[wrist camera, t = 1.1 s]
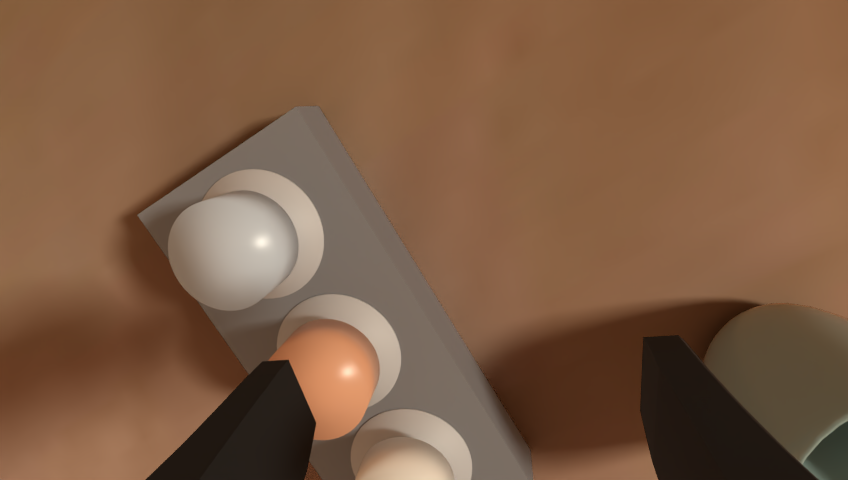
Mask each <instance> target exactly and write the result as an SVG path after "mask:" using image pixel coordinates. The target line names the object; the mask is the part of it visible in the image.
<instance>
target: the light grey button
mask: <svg viewBox="0 0 848 480" xmlns="http://www.w3.org/2000/svg"><path fill="white" fill-rule="evenodd" d="M298 251H299V243H298V236H297V233H296V229H295V227H294V224H293V222H292V220H291V219H290V217H289V216H288V214H287V213H286V211H285V210H284V209H283V208H282V207H281V206H280V205H279V204H278V203H276V202H275V201H274V200H272V199H271V198H269V197H267V196H265V195H263V194H260V193H258V192H254V191H248V190H238V191H232V192H228V193H225V194H222V195H219V196H216V197H213V198H210V199H207V200H204V201H201V202H198V203H196V204H193V205H192V206H190V207H188V208H187V209H185V210H184V211H183V212H182V213H181V214H180V215H179V216H178V217H177V219H176V220H175V222H174V224H173V226H172V228H171V231H170V234H169V239H168V256H169V260H170V264H171V267H172V270H173V272H174V274H175V276H176V278H177V280H178V281H179V283H180V284H181V285H182V287H183V288H184V289H185V290H186V291H187V292H188V293H189V294H190V295H191V296H192V297H194V298H195V299H196V300H198V301H199V302H201V303H203V304H205V305H207V306H209V307H212V308H215V309H219V310H226V311H236V310H242V309H245V308H248V307H250V306H252V305H254V304H256V303H257V302H259V301H260V300H261V299H263V298H264V297H265V296H266V295H267V294H269V293H270V292H271V291H272V290H274V289H275V288H276V287H277V286H278V285H280V284H281V283H282V282H283V281H284V280H285V279H286V278H287V277H288V276H289V275H290V274H291V272H292V270H293V269H294V267H295V264H296V261H297V258H298Z"/></svg>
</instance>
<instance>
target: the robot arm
mask: <svg viewBox="0 0 848 480" xmlns="http://www.w3.org/2000/svg"><path fill="white" fill-rule="evenodd" d="M640 412H641V416H642V420H643V425H644V429H645V433H646V438H647V442H648V446H649V450H650V454H651V458H652V462H653V465H654V468H655V471H656V474H657V477H658V480H819V479H817V478H816V477H815V476H814V475H813V474H812V473H811V472H810V471H809V470H808V469H807V468H806V467H804V466H803V465H802V464H801V463H800V462H799V461H798V460H797V459H796V458H795V457H794V456H793V455H792V454H790V453H789V452H788V451H787V450H786V449H785V448H784V447H783V446H782V445H781V444H780V443H779V442H778V441H777V440H776V439H775V438H774V437H773V436H772V435H771V434H770V433H769V432H768V431H767V430H766V429H765V428H764V427H763V426H762V425H761V424H760V423H759V422H758V421H757V420H756V419H755V418H754V417H753V416H752V415H751V414H750V413H749V412H748V411H747V410H746V409H745V408H744V407H743V406H742V405H741V404H740V402H739V401H738V400H737V399H736V398H735V397H734V396H733V395H732V394H731V393H730V392H729V391H728V390H727V389H726V387H725V386H724V385H723V384H722V383H721V382H720V381H719V380H718V379H717V378H716V377H715V375H714V374H713V373H712V372H711V371H710V370H709V369H708V368H707V366H706V365H705V364H704V363H703V362H702V361H701V360H700V358H699V357H698V356H697V355H696V354H695V352H694V351H693V350H692V349H691V348H690V347H689V345H688V344H687V343H686V342H685V341H684V340H683V339H682V338H681V337H680V336H678V335H674V336H658V337H643V357H642V381H641V404H640ZM315 428H316V421H315V419H314V416H313V414H312V412H311V410H310V407H309V405H308V403H307V400H306V398H305V396H304V394H303V391H302V389H301V387H300V385H299V382H298V380H297V378H296V375H295V373H294V371H293V369H292V366H291V364H290V362H289V360H275V361H262V362H261V363H260V364H259V365H258V366H257V367H256V368H255V369H254V370H253V371H252V372H251V373H250V374H249V375H248V376H247V377H246V378H245V379H244V380H243V381H242V383H241V384H240V385H239V386H238V387H237V388H236V389H235V390H234V391H233V392H232V393H231V394H230V395H229V396H228V397H227V398H226V399H225V400H224V402H223V403H222V404H221V405H220V406H219V407H218V408H217V409H216V410H215V411H214V412H213V413H212V414H211V415H210V416H209V417H208V418H207V419H206V420H205V421H204V422H203V423H202V425H201V426H200V427H199V428H198V429H197V430H196V431H195V432H194V433H193V434H192V435H191V436H190V437H189V438H188V439H187V440H186V441H185V442H184V443H183V444H182V445H181V446H180V447H179V448H178V449H177V450H176V451H175V452H174V453H173V454H172V455H171V456H170V457H169V458H168V459H167V460H166V461H165V462H163V463H162V464H161V465H160V466H159V467H158V468H157V469H156V470H155V471H154V472H153V473H152V474H151V475H150V476H149V477H148V478H147V479H146V480H304V478H305V475H306V472H307V468H308V463H309V459H310V454H311V449H312V444H313V439H314V433H315Z"/></svg>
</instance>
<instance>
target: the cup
mask: <svg viewBox="0 0 848 480" xmlns="http://www.w3.org/2000/svg"><path fill="white" fill-rule="evenodd" d="M703 363H704V364H705V365H706V366H707V368H708V369H709V370H710V371H711V372H712V373H713V374H714V375H715V377H716V378H717V379H718V380H719V381H720V382H721V383H722V384H723V385H724V386H725V387H726V389H727V390H728V391H729V392H730V393H731V394H732V395H733V396H734V397H735V398H736V399H737V400H738V401H739V402H740V404H741V405H742V406H743V407H744V408H745V409H746V410H747V411H748V412H749V413H750V414H751V415H752V416H753V417H754V418H755V419H756V420H757V421H758V422H759V423H760V424H761V425H762V426H763V427H764V428H765V429H766V430H767V431H768V432H769V433H770V434H771V435H772V436H773V437H774V438H775V439H776V440H777V441H778V442H779V443H780V444H781V445H782V446H783V447H784V448H785V449H786V450H787V451H788V452H789V453H790V454H792V455H793V456H794V457H795V458H796V459H797V460H798V461H799V462H800V463H801V464H802V465H803V466H804V467H806V468H807V469H808V470H809V471H810V472H811V473H812V474H813V475H814V476H815V477H816V478H817V479H819V480H848V318H845V317H843V316H840V315H838V314H834V313H831V312H828V311H825V310H822V309H818V308H815V307H811V306H805V305H798V304H790V303H771V304H766V305H761V306H756V307H753V308H751V309H748V310H746V311H744V312H741V313H739V314H738V315H737V316H735V317H734V318H732V319H731V320H729V321H728V322H727V323H726V324H725V325H724V326H723V327H722V328H721V329H720V330H719V331H718V333H717V334H716V335H715V337H714V338H713V339H712V341H711V343H710V345H709V347H708V349H707V351H706V353H705V356H704V360H703Z"/></svg>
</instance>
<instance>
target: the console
mask: <svg viewBox="0 0 848 480" xmlns="http://www.w3.org/2000/svg"><path fill="white" fill-rule="evenodd" d="M238 190H248V191H254V192H258V193H260V194H263V195H265V196H267V197H269V198H271V199H272V200H274V201H275V202H276V203H278V204H279V205H280V206H281V207H282V208H283V209H284V210H285V211H286V213H287V214H288V216H289V217H290V219H291V220H292V222H293V224H294V227H295V229H296V233H297V236H298V243H299V251H298V258H297V261H296V264H295V267H294V269H293V270H292V272H291V274H290V275H289V276H288V277H287V278H286V279H285V280H284V281H283V282H282V283H281V284H280V285H278V286H277V287H276V288H275V289H274V290H272V291H271V292H270V293H269V294H267V295H266V296H265V297H264V298H263V299H261V300H260V301H259V302H257V303H256V304H254V305H252V306H250V307H248V308H245V309H242V310H236V311H226V310H219V309H215V308H212V307H209V306H207V305H205V304H203V303H201V302H199V301H198V300H197V301H198V303H199V304H200V306H201V307H202V308H203V310H204V311H205V313H206V314H207V316H208V317H209V319H210V320H211V321H212V323H213V324H214V326H215V327H216V329H217V330H218V331H219V333H220V334H221V336H222V337H223V339H224V340H225V341H226V343H227V344H228V346H229V347H230V349H231V350H232V351H233V353H234V354H235V356H236V357H237V359H238V360H239V361H240V363H241V364H242V366H243V367H244V369H245V370H246V371H247V373H248V374H250V373H251V372H252V371H253V370H254V369H255V368H256V367H257V366H258V365H259V364H260V363H261V362H262V361H268V360H269V359H270V358H271V357H272V355H273V354H274V353H275V352H276V351H277V350H278V349H279V348H280V346H281V345H282V344H283V343H284V342H285V341H286V340H287V339H288V338H289V336H290V335H291V334H292V333H293V332H294V331H295V330H296V329H297V328H298V327H300V326H302V325H303V324H305V323H307V322H310V321H313V320H318V319H334V320H338V321H342V322H345V323H347V324H349V325H351V326H353V327H355V328H356V329H358V330H359V331H360V332H362V333H363V334H364V335H365V336H366V337H367V338H368V339H369V341H370V342H371V343H372V345H373V347H374V349H375V350H376V353H377V355H378V359H379V364H380V376H379V381H378V384H377V386H376V389H375V391H374V393H373V395H372V398H371V400H370V402H369V405H368V407H367V409H366V411H365V414H364V416H363V418H362V420H361V421H360V422H359V424H358V425H357V426H356V427H355V428H354V429H353V430H352V431H350V432H349V433H347V434H345V435H344V436H341V437H339V438H335V439H331V440H313V444H312V449H311V454H310V459H309V461H310V463H311V464H312V466H313V467H314V469H315V470H316V471H317V473H318V474H319V476H320V477H321V479H322V480H355V478H356V476H357V473H358V470H359V468H360V465H361V463H362V460H363V458H364V456H365V454H366V453H367V452H368V450H369V449H370V448H372V447H373V446H374V445H375V444H377V443H379V442H381V441H383V440H386V439H389V438H394V437H409V438H414V439H418V440H421V441H424V442H426V443H428V444H430V445H431V446H433V447H435V448H436V449H437V450H438V451H440V452H441V453H442V454H443V456H444V457H445V458H446V459H447V461H448V462H449V464H450V466H451V468H452V471H453V474H454V480H533V472H532V460H531V450H530V449H529V447H528V445H527V444H526V442H525V441H524V439H523V437H522V436H521V434H520V432H519V431H518V429H517V428H516V426H515V424H514V423H513V421H512V419H511V418H510V416H509V415H508V413H507V411H506V410H505V408H504V407H503V405H502V403H501V402H500V400H499V398H498V397H497V395H496V394H495V392H494V390H493V389H492V387H491V385H490V384H489V382H488V381H487V379H486V377H485V376H484V374H483V372H482V371H481V369H480V368H479V366H478V364H477V363H476V361H475V359H474V358H473V356H472V355H471V353H470V351H469V350H468V348H467V346H466V345H465V343H464V342H463V340H462V338H461V337H460V335H459V333H458V332H457V330H456V329H455V327H454V325H453V324H452V322H451V320H450V319H449V317H448V316H447V314H446V312H445V311H444V309H443V307H442V306H441V304H440V303H439V301H438V299H437V298H436V296H435V294H434V293H433V291H432V290H431V288H430V286H429V285H428V283H427V281H426V280H425V278H424V277H423V275H422V273H421V272H420V270H419V269H418V267H417V265H416V264H415V262H414V260H413V259H412V257H411V256H410V254H409V252H408V251H407V249H406V247H405V246H404V244H403V243H402V241H401V239H400V238H399V236H398V234H397V233H396V231H395V230H394V228H393V226H392V225H391V223H390V221H389V220H388V218H387V217H386V215H385V213H384V212H383V210H382V208H381V207H380V205H379V204H378V202H377V200H376V199H375V197H374V195H373V194H372V192H371V191H370V189H369V187H368V186H367V184H366V182H365V181H364V179H363V178H362V176H361V174H360V173H359V171H358V169H357V168H356V166H355V165H354V163H353V161H352V160H351V158H350V156H349V155H348V153H347V152H346V150H345V148H344V147H343V145H342V144H341V142H340V140H339V139H338V137H337V135H336V134H335V132H334V131H333V129H332V127H331V126H330V124H329V122H328V121H327V119H326V118H325V116H324V114H323V113H322V111H321V109H320V108H319V106H303V107H295V108H293V109H292V110H290V111H289V112H287V113H286V114H284V115H283V116H281V117H280V118H279V119H277V120H276V121H274V122H273V123H271V124H270V125H268V126H267V127H265V128H264V129H262V130H261V131H259V132H258V133H257V134H255V135H254V136H252V137H251V138H249V139H248V140H246V141H245V142H243V143H242V144H240V145H239V146H237V147H236V148H235V149H233V150H232V151H230V152H229V153H227V154H226V155H224V156H223V157H221V158H220V159H218V160H217V161H215V162H214V163H213V164H211V165H210V166H208V167H207V168H205V169H204V170H202V171H201V172H199V173H198V174H196V175H195V176H193V177H192V178H191V179H189V180H188V181H186V182H185V183H183V184H182V185H180V186H179V187H177V188H176V189H174V190H173V191H171V192H170V193H169V194H167V195H166V196H164V197H163V198H161V199H160V200H158V201H157V202H155V203H154V204H152V205H151V206H149V207H148V208H147V209H145V210H144V211H142V212H141V213H139V214H138V215H137V216H138V217H139V218H140V220H141V221H142V223H143V224H144V226H145V227H146V228H147V230H148V231H149V233H150V234H151V236H152V237H153V238H154V240H155V241H156V243H157V244H158V246H159V247H160V248H161V250H162V251H163V253H164V254H165V256H166V257H167V258H168V260H169V256H168V239H169V234H170V231H171V228H172V226H173V224H174V222H175V220H176V219H177V217H178V216H179V215H180V214H181V213H182V212H183V211H184V210H185V209H187V208H188V207H190V206H192V205H193V204H196V203H198V202H201V201H204V200H207V199H210V198H213V197H216V196H219V195H222V194H225V193H228V192H232V191H238ZM169 261H170V260H169Z"/></svg>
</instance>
